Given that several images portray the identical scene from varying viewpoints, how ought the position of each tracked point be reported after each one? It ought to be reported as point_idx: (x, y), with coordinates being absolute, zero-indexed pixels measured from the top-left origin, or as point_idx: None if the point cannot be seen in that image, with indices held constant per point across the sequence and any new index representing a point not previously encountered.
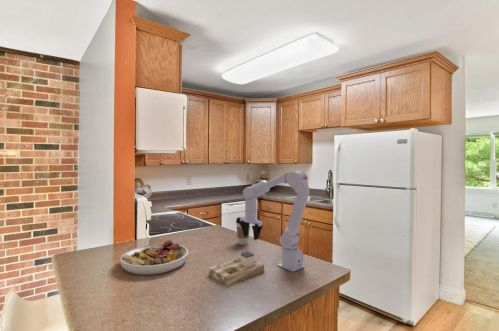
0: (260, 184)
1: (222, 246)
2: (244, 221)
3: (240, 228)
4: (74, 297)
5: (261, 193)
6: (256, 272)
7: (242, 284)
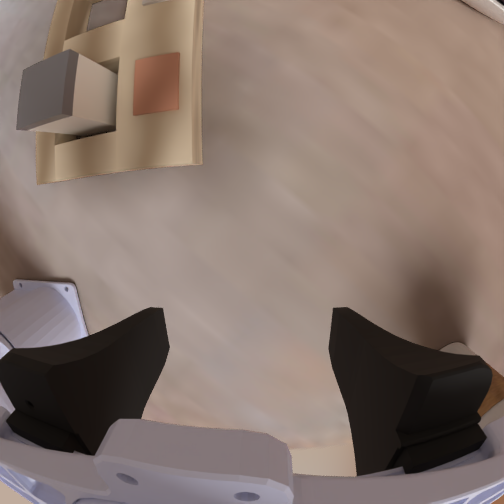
0: None
1: (496, 250)
2: (207, 443)
3: (493, 399)
4: None
5: None
6: None
7: (46, 41)
